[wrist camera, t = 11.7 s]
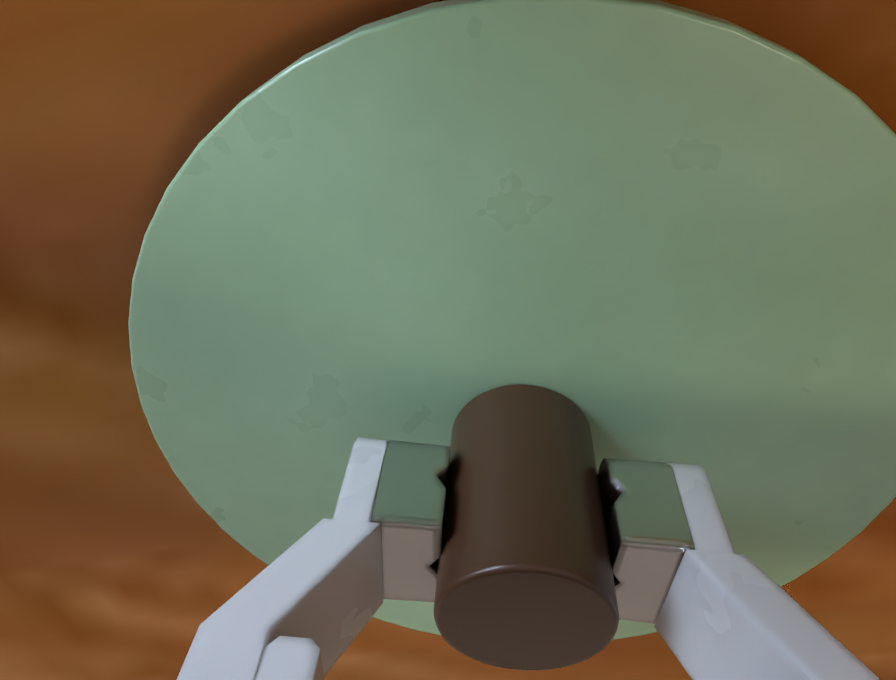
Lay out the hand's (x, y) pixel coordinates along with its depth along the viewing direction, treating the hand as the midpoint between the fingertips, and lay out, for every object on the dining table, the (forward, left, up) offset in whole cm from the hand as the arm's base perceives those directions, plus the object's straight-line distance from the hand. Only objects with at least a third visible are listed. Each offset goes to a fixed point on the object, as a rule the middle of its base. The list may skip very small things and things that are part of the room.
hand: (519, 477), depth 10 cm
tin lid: (0, 0, -2) cm, 2 cm away
